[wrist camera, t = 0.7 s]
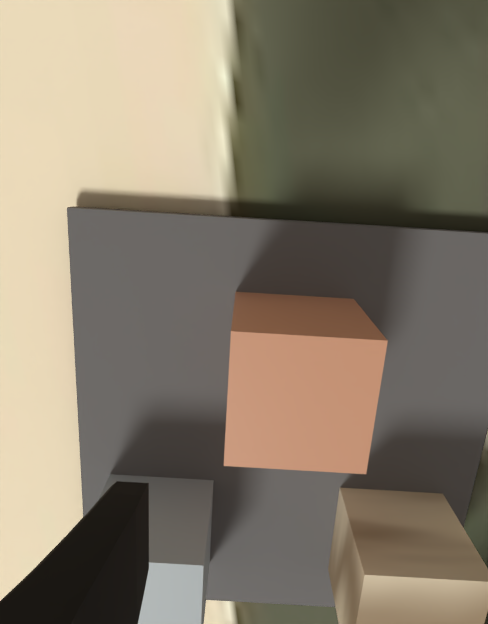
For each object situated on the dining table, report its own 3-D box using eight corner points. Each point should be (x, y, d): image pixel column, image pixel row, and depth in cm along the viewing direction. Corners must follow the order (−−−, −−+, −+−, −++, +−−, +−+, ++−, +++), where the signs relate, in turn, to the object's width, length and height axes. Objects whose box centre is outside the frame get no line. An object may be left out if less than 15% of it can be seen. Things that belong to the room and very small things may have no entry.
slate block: (209, 562, 21) (199, 661, 17) (112, 556, 21) (77, 655, 17) (213, 480, 20) (203, 565, 16) (109, 474, 20) (71, 558, 16)
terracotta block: (339, 404, 19) (366, 474, 14) (229, 398, 19) (223, 466, 14) (353, 298, 17) (387, 340, 13) (235, 291, 17) (230, 331, 13)
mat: (438, 603, 22) (442, 612, 22) (90, 583, 22) (87, 592, 22) (527, 234, 17) (535, 236, 17) (72, 206, 17) (66, 207, 17)
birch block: (424, 574, 21) (469, 677, 17) (328, 569, 21) (348, 670, 17) (442, 493, 20) (495, 582, 16) (339, 487, 20) (364, 574, 16)
